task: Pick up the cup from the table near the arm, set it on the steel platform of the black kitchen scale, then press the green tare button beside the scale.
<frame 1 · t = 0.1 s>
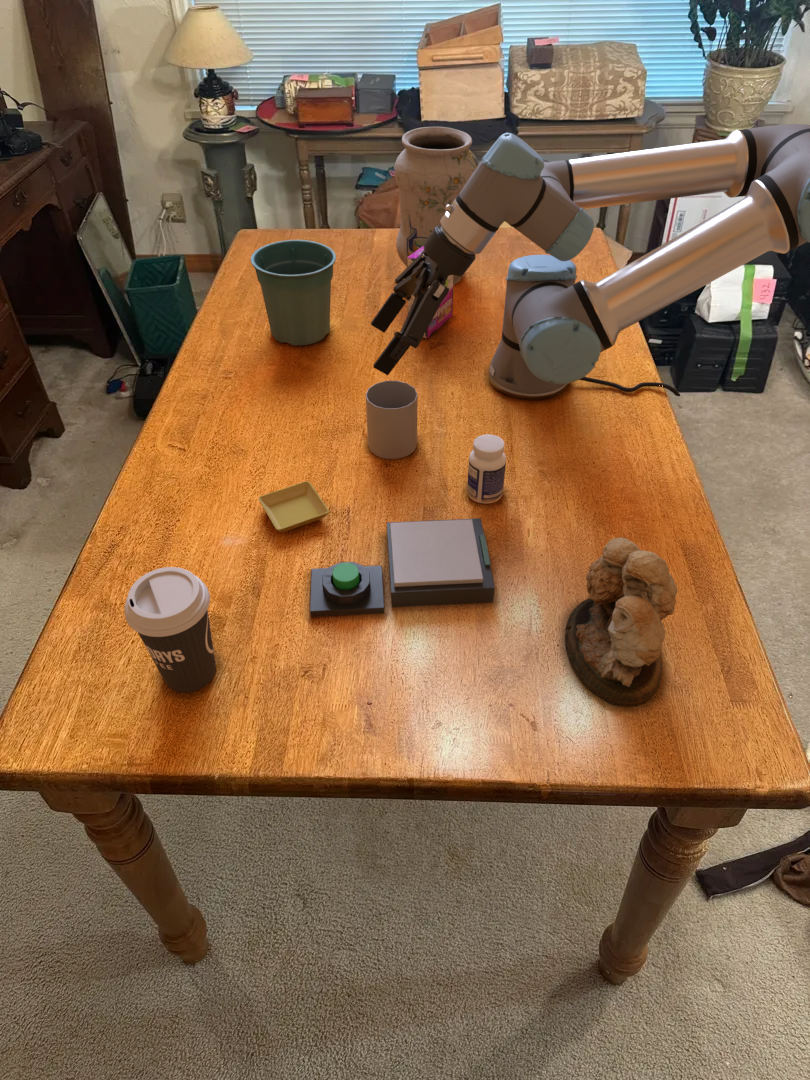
hand: (378, 348, 124), 15 cm above the table, tool tilted 35°, fingers open, 13 cm apart
flower pot: (301, 332, 159), on the table
pill bottle: (484, 494, 121), on the table
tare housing: (347, 593, 106), on the table
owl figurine: (610, 650, 99), on the table
olive yellow tray: (294, 515, 118), on the table
candy bar box: (429, 326, 160), on the table
vase: (434, 277, 177), on the table
tare button: (345, 576, 103), point 3 cm above the table, slide at 0.1 cm
cup: (392, 445, 131), on the table
coffee cup: (190, 672, 96), on the table
scale: (437, 568, 109), on the table
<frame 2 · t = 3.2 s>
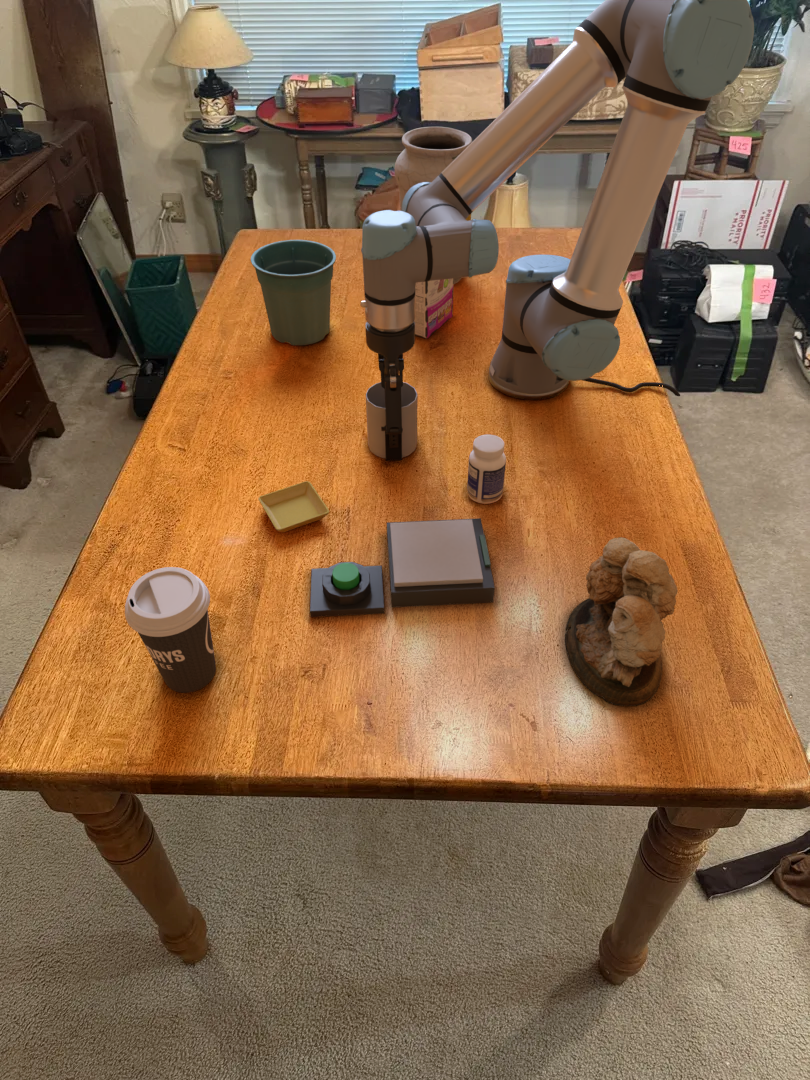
hand: (392, 442, 130), 0 cm above the table, tool pointing down, fingers closed on cup, 8 cm apart
cup: (392, 444, 131), on the table, touching gripper
everything else where it was.
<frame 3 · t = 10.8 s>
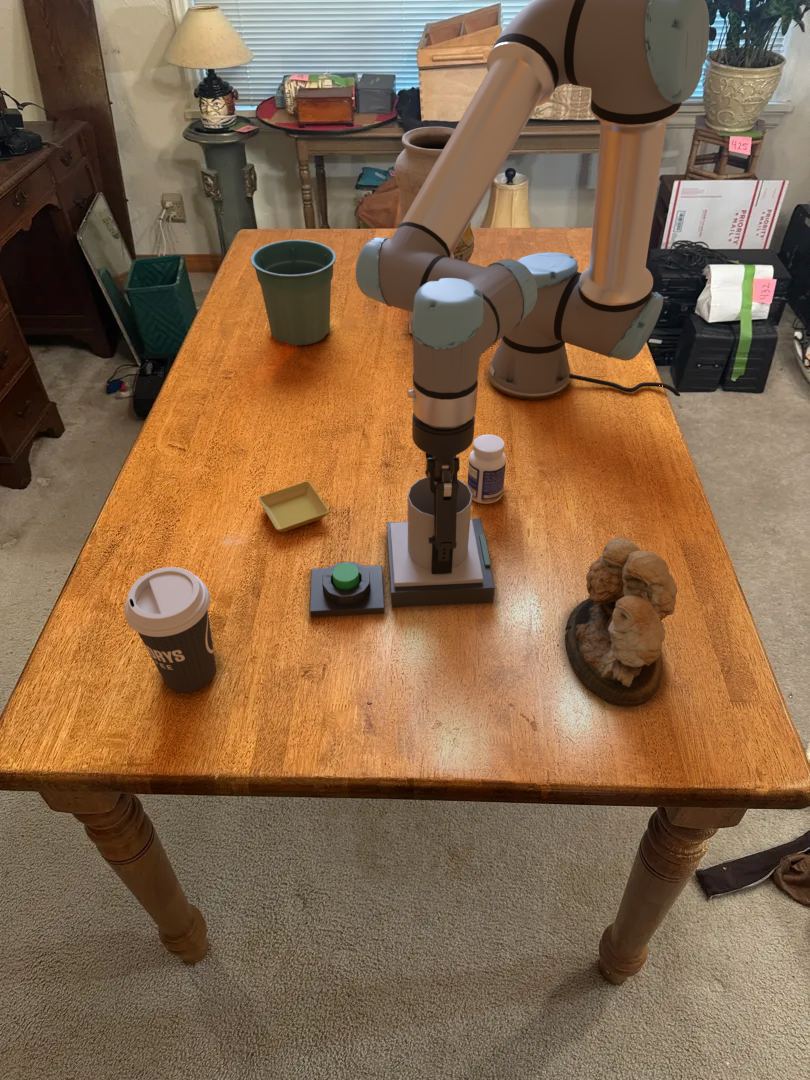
hand: (438, 548, 106), 4 cm above the table, tool pointing down, fingers closed on cup, 8 cm apart
cup: (437, 550, 107), point 4 cm above the table, touching gripper, scale
everything else where it was.
when the fingers open (4 cm above the table, at t = 11.2 s): cup stays where it is, resting on scale.
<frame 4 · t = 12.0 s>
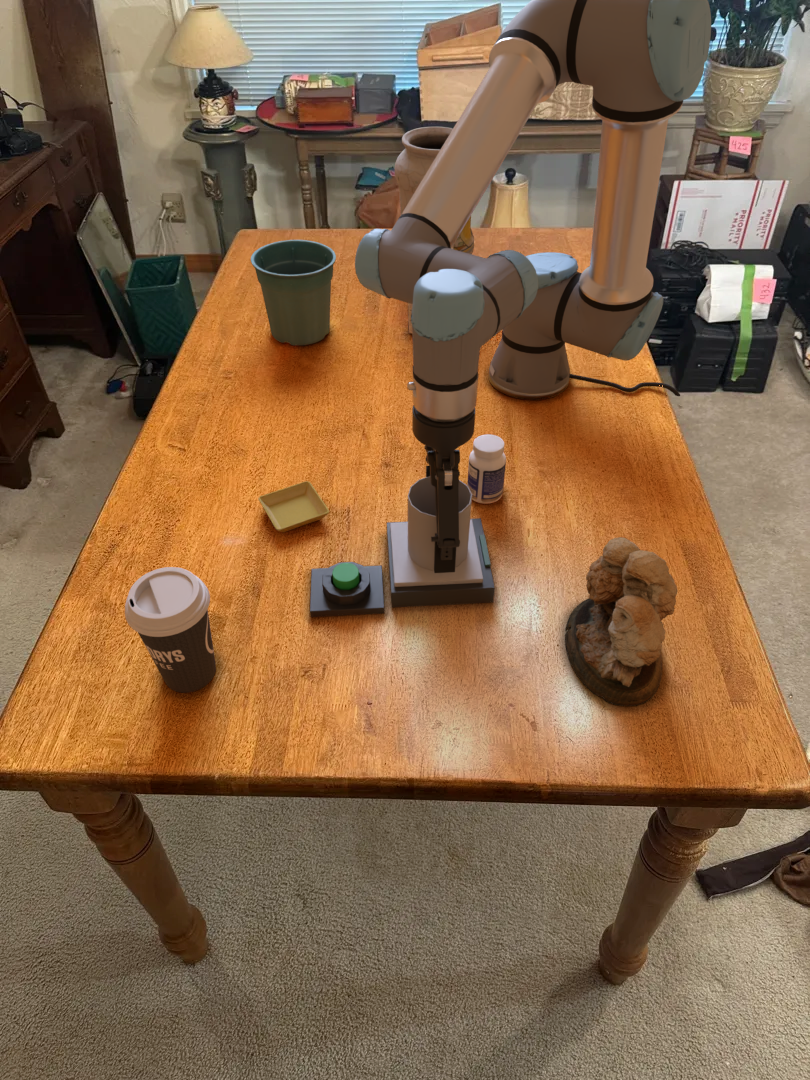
hand: (439, 535, 105), 6 cm above the table, tool pointing down, fingers open, 13 cm apart
cup: (437, 550, 107), point 4 cm above the table, touching scale
everything else where it was.
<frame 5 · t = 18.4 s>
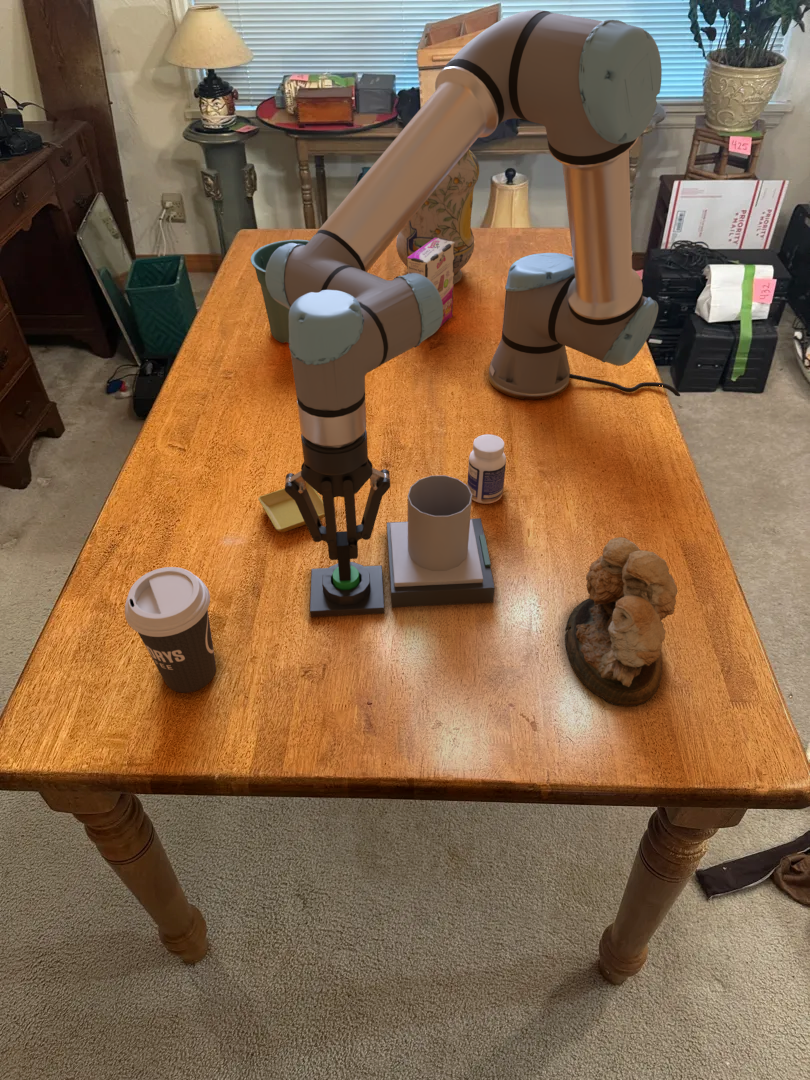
hand: (345, 573, 103), 4 cm above the table, tool pointing down, fingers closed
tare button: (346, 578, 104), point 3 cm above the table, slide at -0.4 cm, touching gripper
everything else where it was.
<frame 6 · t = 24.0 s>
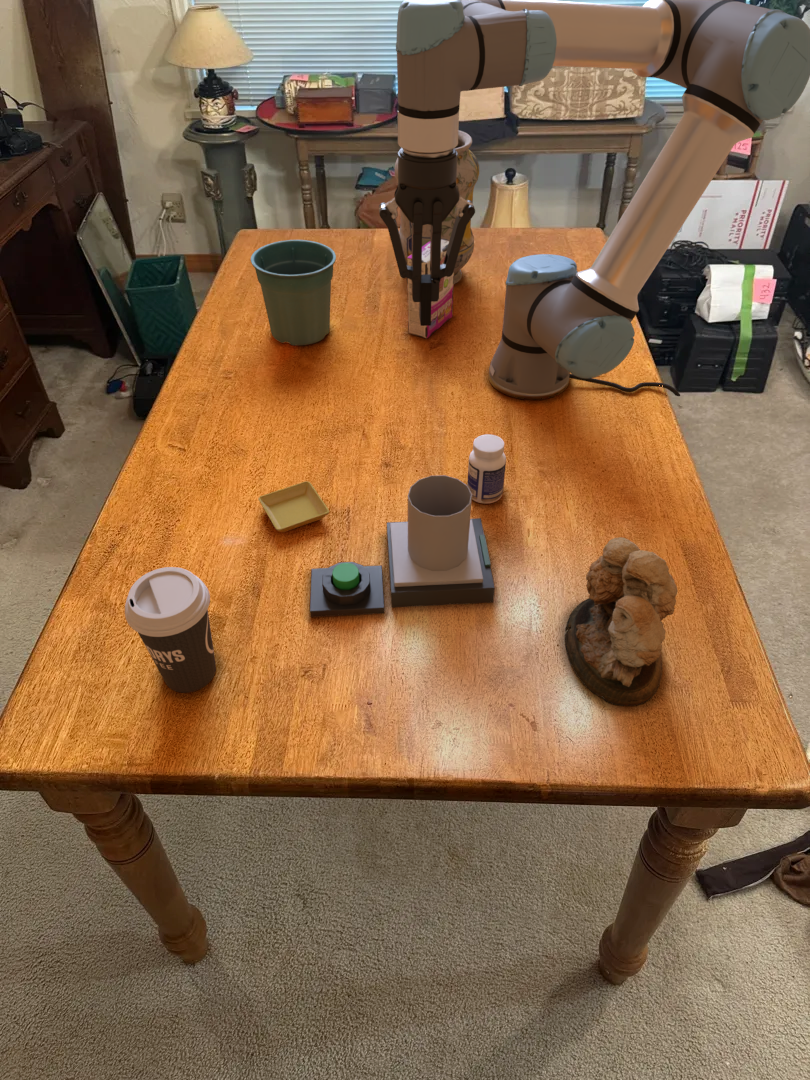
hand: (424, 320, 112), 24 cm above the table, tool pointing down, fingers closed
tare button: (345, 576, 103), point 3 cm above the table, slide at 0.1 cm
everything else where it was.
at the end: cup inside the target area on the scale (0.1 cm from its centre), point 3.6 cm above the scale's base; cup tilted 0°; tare button pushed in 1.0 cm at the most during the clip, back to where it started at the end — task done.
